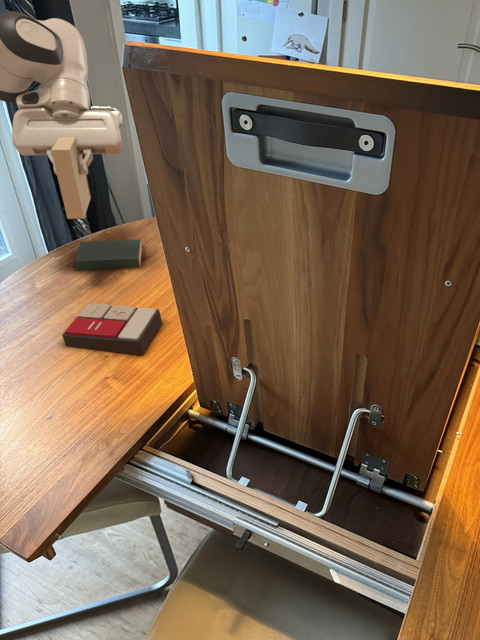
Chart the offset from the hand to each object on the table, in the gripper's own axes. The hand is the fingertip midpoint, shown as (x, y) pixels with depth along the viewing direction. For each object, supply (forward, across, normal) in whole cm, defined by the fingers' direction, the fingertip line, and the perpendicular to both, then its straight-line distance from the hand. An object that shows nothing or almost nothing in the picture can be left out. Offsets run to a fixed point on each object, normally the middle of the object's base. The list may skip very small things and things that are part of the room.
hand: (71, 173), depth 101 cm
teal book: (+11, -3, -22) cm, 25 cm away
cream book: (+5, 0, -6) cm, 7 cm away
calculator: (+33, -6, 0) cm, 34 cm away
